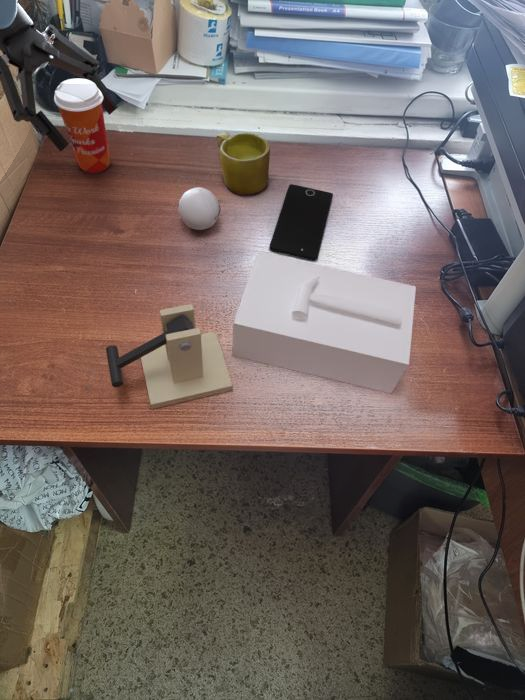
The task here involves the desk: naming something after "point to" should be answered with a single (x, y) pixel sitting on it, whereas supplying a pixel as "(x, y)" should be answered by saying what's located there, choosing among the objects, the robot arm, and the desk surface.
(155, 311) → the desk surface
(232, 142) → the mug
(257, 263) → the hammer on box
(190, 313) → the lever base
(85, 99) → the coffee cup
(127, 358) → the black lever
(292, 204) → the cell phone
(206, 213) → the white sphere
